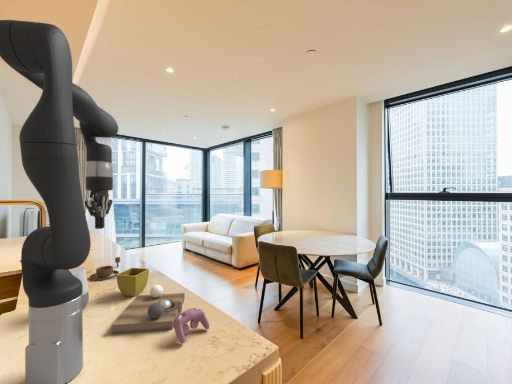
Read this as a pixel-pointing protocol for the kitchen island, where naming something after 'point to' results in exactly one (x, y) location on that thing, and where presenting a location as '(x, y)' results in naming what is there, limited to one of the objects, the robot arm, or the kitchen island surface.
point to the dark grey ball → (155, 310)
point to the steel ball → (166, 304)
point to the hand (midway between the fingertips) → (99, 228)
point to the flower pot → (132, 281)
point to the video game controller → (185, 317)
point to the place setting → (105, 272)
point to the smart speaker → (81, 275)
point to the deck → (138, 316)
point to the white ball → (156, 291)
